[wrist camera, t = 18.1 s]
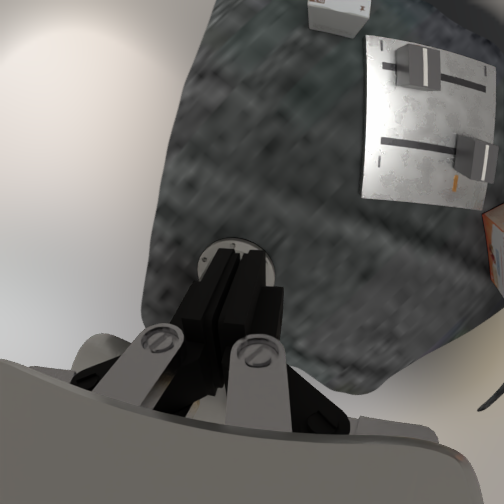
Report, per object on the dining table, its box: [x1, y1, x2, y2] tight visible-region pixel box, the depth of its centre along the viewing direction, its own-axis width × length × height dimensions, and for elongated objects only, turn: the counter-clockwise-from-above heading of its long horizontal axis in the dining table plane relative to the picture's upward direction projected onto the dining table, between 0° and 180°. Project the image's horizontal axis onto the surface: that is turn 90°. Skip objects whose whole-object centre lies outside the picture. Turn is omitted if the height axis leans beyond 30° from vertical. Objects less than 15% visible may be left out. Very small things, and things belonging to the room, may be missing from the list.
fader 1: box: [396, 43, 441, 91], centre depth 27 cm, size 5×4×5 cm
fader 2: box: [454, 135, 499, 184], centre depth 30 cm, size 5×4×5 cm
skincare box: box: [308, 0, 371, 39], centre depth 25 cm, size 6×4×12 cm
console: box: [359, 35, 496, 211], centre depth 33 cm, size 22×20×2 cm
